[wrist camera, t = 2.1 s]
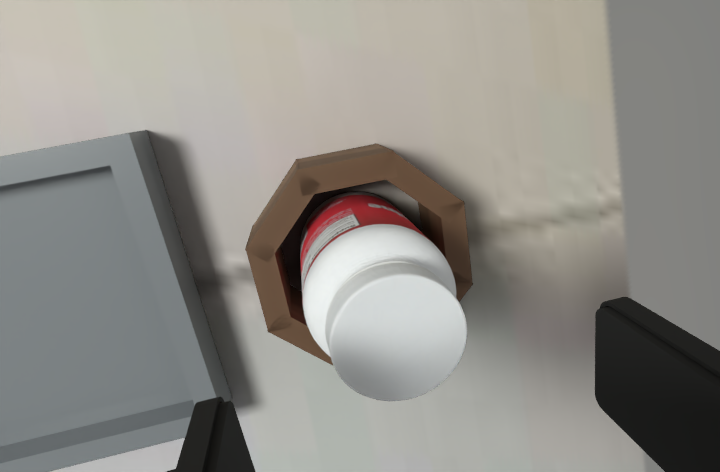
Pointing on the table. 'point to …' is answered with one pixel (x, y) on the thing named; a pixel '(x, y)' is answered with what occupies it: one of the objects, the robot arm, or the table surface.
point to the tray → (95, 308)
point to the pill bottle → (379, 298)
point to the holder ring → (331, 173)
